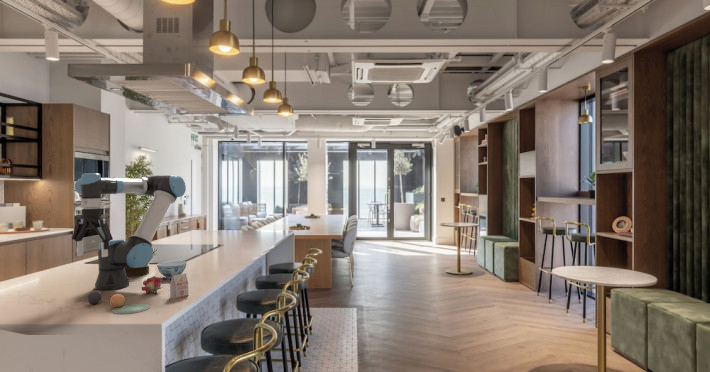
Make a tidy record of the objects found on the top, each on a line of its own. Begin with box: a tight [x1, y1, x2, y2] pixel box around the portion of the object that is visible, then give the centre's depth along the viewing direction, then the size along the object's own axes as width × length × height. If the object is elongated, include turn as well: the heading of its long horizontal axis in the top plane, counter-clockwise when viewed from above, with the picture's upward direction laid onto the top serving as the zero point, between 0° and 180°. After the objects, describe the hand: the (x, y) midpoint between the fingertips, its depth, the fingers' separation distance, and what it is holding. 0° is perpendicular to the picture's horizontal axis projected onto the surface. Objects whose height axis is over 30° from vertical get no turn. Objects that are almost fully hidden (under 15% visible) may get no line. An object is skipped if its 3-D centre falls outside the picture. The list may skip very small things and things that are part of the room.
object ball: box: [109, 293, 126, 308], centre depth 192 cm, size 6×6×6 cm
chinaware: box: [156, 260, 188, 280], centre depth 249 cm, size 15×15×8 cm
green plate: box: [111, 303, 151, 315], centre depth 189 cm, size 14×14×1 cm
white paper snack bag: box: [169, 273, 189, 300], centre depth 208 cm, size 4×7×10 cm, turn 142°
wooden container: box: [125, 241, 150, 278], centre depth 259 cm, size 15×15×22 cm
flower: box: [141, 275, 163, 294], centre depth 215 cm, size 10×9×8 cm
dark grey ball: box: [86, 290, 103, 305], centre depth 198 cm, size 6×6×6 cm
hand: (92, 256), depth 203 cm, fingers open, 13 cm apart
